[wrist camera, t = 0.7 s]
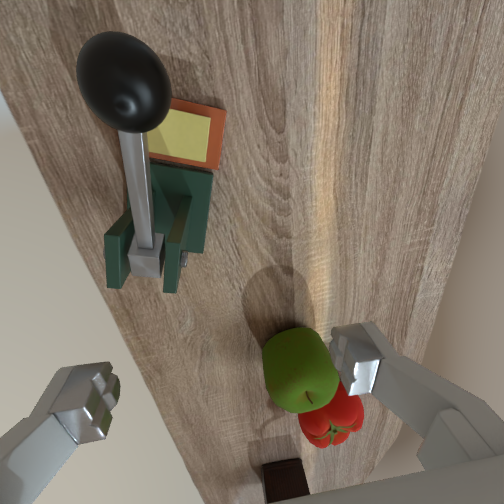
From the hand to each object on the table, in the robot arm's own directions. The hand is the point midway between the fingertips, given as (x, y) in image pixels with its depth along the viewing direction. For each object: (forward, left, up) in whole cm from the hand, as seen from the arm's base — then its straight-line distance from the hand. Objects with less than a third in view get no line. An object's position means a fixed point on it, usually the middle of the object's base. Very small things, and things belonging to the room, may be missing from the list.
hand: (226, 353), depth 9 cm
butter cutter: (-2, -6, -24) cm, 25 cm away
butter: (-8, 0, -24) cm, 25 cm away
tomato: (+44, -8, -24) cm, 51 cm away
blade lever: (-6, -1, -11) cm, 13 cm away
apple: (+28, -6, -24) cm, 38 cm away
